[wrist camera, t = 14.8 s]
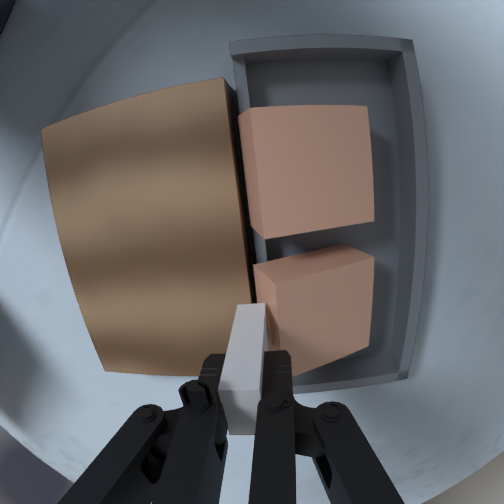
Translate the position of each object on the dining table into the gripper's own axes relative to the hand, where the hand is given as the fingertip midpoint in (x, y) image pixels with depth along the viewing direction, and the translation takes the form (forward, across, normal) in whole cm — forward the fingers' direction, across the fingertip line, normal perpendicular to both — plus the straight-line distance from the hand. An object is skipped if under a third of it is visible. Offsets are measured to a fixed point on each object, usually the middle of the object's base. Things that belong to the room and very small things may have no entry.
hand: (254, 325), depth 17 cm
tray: (+4, +5, +4) cm, 8 cm away
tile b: (+3, +3, 0) cm, 4 cm away
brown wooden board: (+5, -6, +4) cm, 9 cm away
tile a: (+3, +3, +8) cm, 9 cm away
